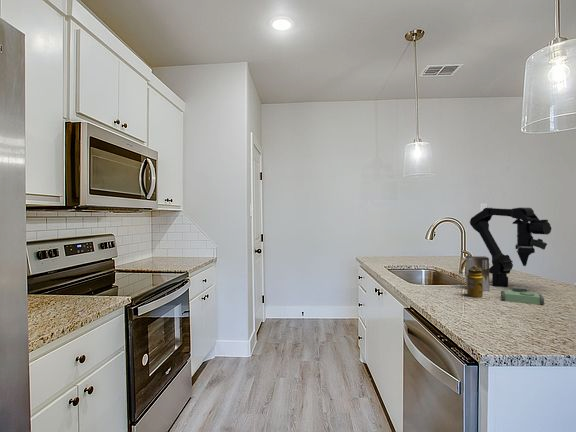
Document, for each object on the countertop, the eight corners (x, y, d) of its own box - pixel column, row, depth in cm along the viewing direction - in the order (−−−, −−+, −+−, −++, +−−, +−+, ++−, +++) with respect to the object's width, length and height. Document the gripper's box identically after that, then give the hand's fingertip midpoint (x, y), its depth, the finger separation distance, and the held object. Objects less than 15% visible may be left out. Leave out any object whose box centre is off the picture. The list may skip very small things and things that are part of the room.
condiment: (487, 298, 146) (487, 271, 146) (469, 298, 144) (469, 271, 144) (475, 294, 153) (475, 268, 153) (459, 294, 152) (458, 268, 152)
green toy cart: (501, 300, 140) (501, 292, 140) (500, 294, 151) (500, 286, 151) (544, 305, 133) (543, 296, 133) (539, 298, 144) (539, 290, 144)
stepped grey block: (513, 298, 145) (513, 288, 145) (512, 295, 150) (512, 285, 150) (527, 299, 143) (527, 289, 143) (525, 296, 148) (525, 286, 148)
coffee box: (486, 288, 164) (485, 256, 164) (489, 291, 158) (489, 257, 158) (465, 287, 167) (465, 255, 167) (468, 290, 161) (468, 257, 161)
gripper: (548, 235, 146) (548, 270, 146) (542, 232, 162) (542, 264, 162) (518, 234, 152) (518, 268, 152) (515, 232, 168) (515, 262, 168)
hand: (524, 265), depth 158 cm, fingers closed
